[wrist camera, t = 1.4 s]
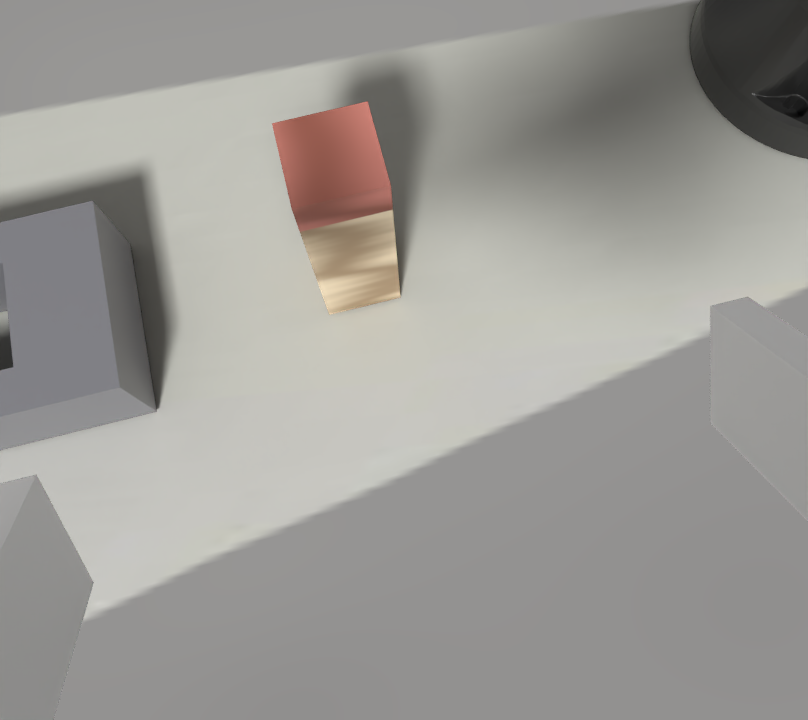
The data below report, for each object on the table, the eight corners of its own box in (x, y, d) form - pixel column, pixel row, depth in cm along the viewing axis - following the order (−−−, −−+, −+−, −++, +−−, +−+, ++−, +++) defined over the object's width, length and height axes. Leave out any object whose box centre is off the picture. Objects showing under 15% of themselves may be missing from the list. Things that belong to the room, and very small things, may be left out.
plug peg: (383, 233, 42) (367, 101, 31) (400, 297, 41) (390, 185, 30) (314, 249, 42) (272, 123, 31) (329, 314, 41) (291, 208, 29)
